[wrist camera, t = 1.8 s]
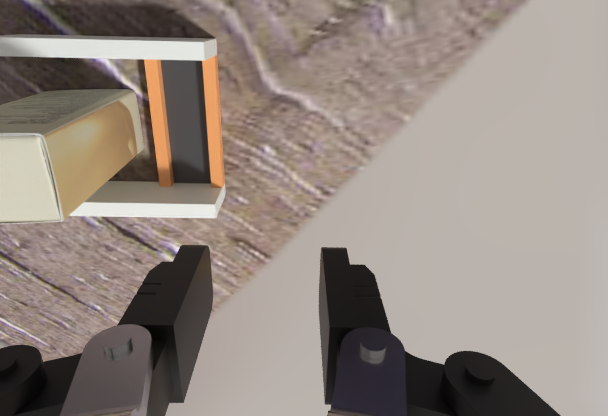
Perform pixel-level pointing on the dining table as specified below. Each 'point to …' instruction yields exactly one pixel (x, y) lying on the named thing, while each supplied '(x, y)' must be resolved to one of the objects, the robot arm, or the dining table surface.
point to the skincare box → (63, 150)
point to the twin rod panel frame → (157, 121)
